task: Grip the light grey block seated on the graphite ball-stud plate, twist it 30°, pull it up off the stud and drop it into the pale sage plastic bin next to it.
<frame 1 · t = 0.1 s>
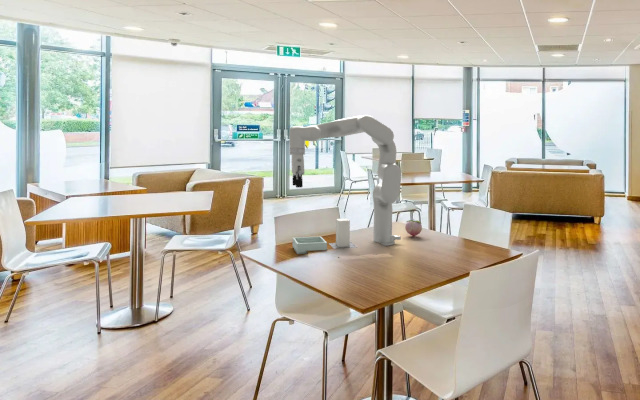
hand: (297, 186, 249), 31 cm above the table, fingers open, 9 cm apart
decorative fruit: (413, 236, 281), on the table
bin: (309, 249, 249), on the table
stud base: (342, 248, 252), on the table
light grey block: (342, 245, 252), point 1 cm above the table, touching stud base
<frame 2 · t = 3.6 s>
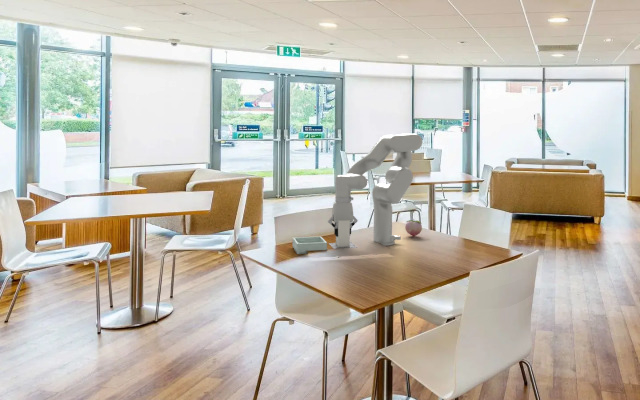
hand: (342, 235, 251), 7 cm above the table, fingers closed on light grey block, 5 cm apart
light grey block: (342, 245, 252), point 2 cm above the table, touching gripper, stud base
everything else where it was.
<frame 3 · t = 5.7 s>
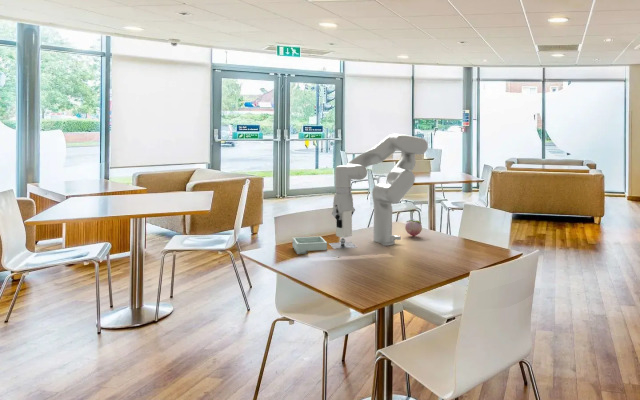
hand: (343, 226, 251), 11 cm above the table, fingers closed on light grey block, 5 cm apart
light grey block: (344, 235, 252), point 6 cm above the table, touching gripper
everything else where it was.
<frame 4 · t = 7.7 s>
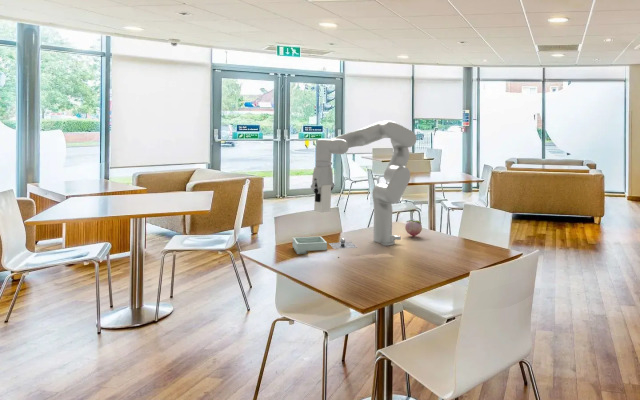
hand: (322, 201, 247), 24 cm above the table, fingers closed on light grey block, 5 cm apart
light grey block: (322, 211, 247), point 19 cm above the table, touching gripper
everything else where it was.
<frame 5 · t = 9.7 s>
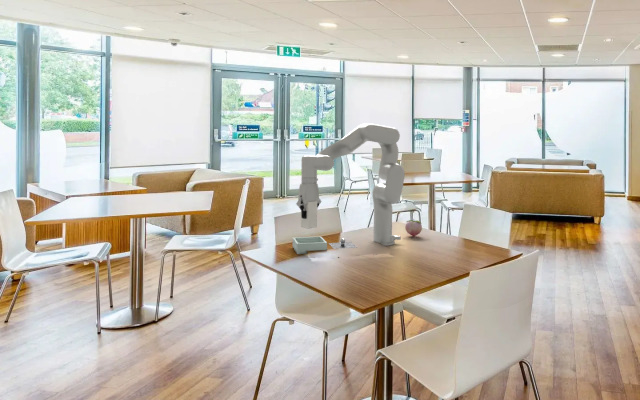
hand: (308, 217, 246), 16 cm above the table, fingers closed on light grey block, 5 cm apart
light grey block: (308, 227, 247), point 11 cm above the table, touching gripper
everything else where it was.
when the fingers open (7 cm above the table, at t = 11.7 s): light grey block drops 1 cm, resting on bin.
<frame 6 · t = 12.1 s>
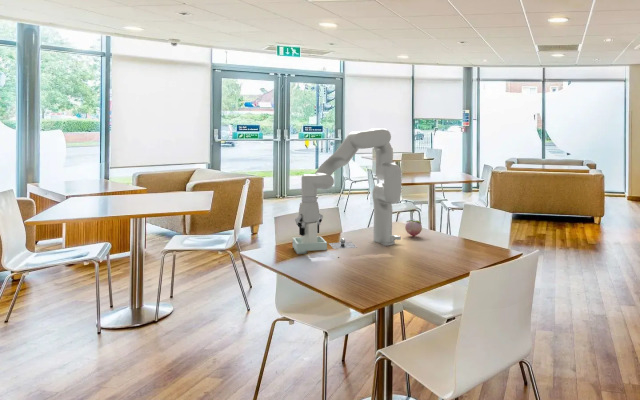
hand: (309, 233, 248), 8 cm above the table, fingers open, 9 cm apart
light grey block: (309, 248, 249), point 1 cm above the table, touching bin
everything else where it was.
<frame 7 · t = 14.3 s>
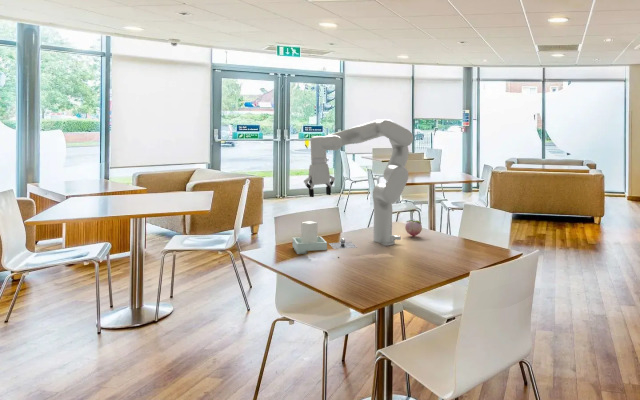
hand: (320, 195, 250), 26 cm above the table, fingers open, 9 cm apart
nothing on the table moved.
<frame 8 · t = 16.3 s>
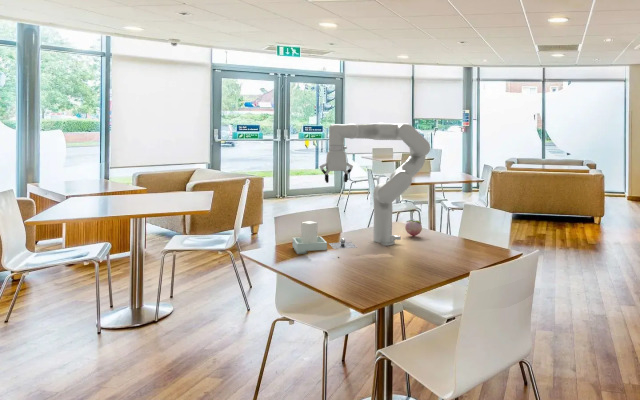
hand: (336, 182, 257), 32 cm above the table, fingers open, 9 cm apart
nothing on the table moved.
at the end: light grey block inside the target area on the bin (0.1 cm from its centre), point 0.8 cm above the bin's base; the gripper is holding nothing; light grey block tilted 0° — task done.
